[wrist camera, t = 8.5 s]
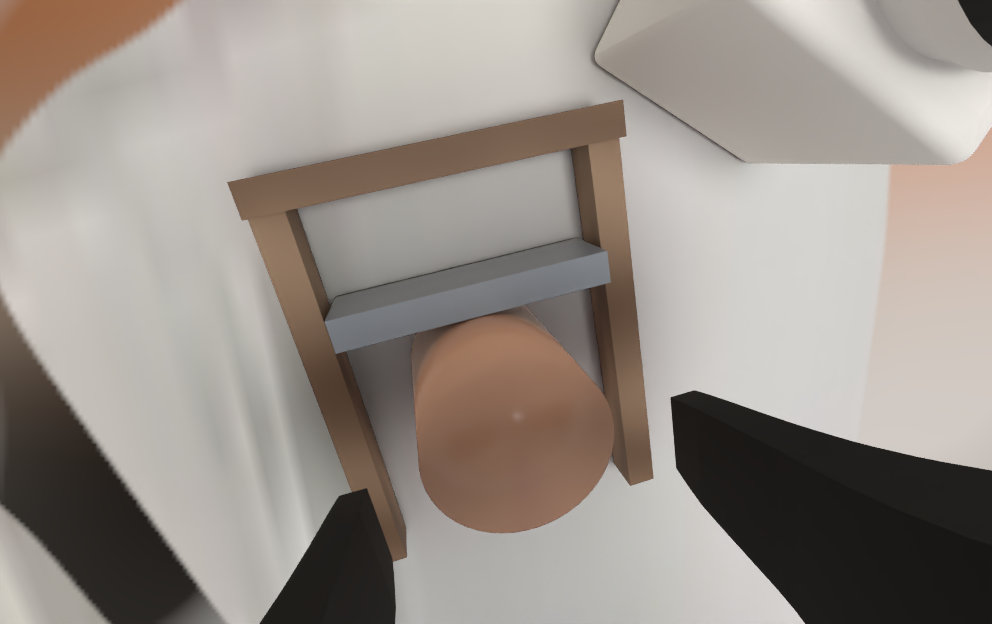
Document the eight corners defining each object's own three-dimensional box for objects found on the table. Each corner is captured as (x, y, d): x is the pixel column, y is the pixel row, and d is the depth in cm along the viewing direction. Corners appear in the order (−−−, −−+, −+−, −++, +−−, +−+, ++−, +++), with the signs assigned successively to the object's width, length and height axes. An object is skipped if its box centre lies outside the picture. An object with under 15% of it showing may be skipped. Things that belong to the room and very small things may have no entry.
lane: (635, 456, 20) (660, 486, 18) (381, 535, 19) (379, 577, 17) (595, 107, 15) (622, 99, 13) (250, 179, 14) (227, 182, 12)
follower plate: (581, 265, 17) (610, 282, 14) (344, 324, 16) (335, 353, 13) (576, 238, 16) (607, 250, 14) (335, 296, 15) (324, 321, 13)
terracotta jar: (554, 396, 18) (623, 499, 13) (430, 432, 18) (445, 557, 12) (533, 275, 17) (601, 334, 11) (394, 310, 16) (394, 391, 10)
